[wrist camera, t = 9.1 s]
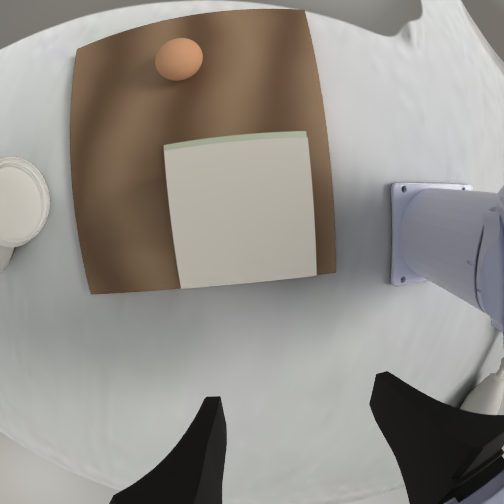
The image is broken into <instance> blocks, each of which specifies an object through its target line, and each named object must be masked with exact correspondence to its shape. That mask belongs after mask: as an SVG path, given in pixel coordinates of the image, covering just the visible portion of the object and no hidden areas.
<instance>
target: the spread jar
mask: <svg viewBox="0 0 504 504" xmlns="http://www.w3.org/2000/svg"><path fill="white" fill-rule="evenodd" d="M49 209H50V196H49V190H48V187H47V184H46V182H45V179H44V177H43V176H42V174H41V173H40V171H39V170H38V169H37V168H36V167H35V166H34V165H33V164H31V163H30V162H29V161H27V160H25V159H22V158H18V157H6V158H2V159H0V273H1V272H2V271H3V270H4V269H5V268H6V266H7V265H8V263H9V261H10V260H11V258H12V256H13V253H14V251H15V248H16V247H19V246H21V245H24V244H26V243H27V242H29V241H30V240H31V239H32V238H34V237H35V236H36V235H37V234H38V233H39V231H40V230H41V229H42V228H43V226H44V224H45V223H46V220H47V218H48V215H49Z"/></svg>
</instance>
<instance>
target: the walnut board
mask: <svg viewBox="0 0 504 504" xmlns="http://www.w3.org/2000/svg"><path fill="white" fill-rule="evenodd" d="M176 38H187V39H190V40H192V41H194V42H195V43H197V44H198V45H199V47H200V48H201V50H202V54H203V60H202V64H201V66H200V68H199V70H198V71H197V72H196V73H195V74H194V75H193V76H191V77H189V78H187V79H184V80H179V81H174V80H169V79H167V78H165V77H163V76H162V75H161V74H160V73H159V72H158V70H157V68H156V65H155V58H156V54H157V52H158V50H159V49H160V47H161V46H162V45H164V44H165V43H166V42H168V41H170V40H172V39H176ZM291 131H306V135H307V137H308V145H309V155H310V165H311V177H312V190H313V204H314V220H315V240H316V269H317V275H319V274H327V273H335V272H336V248H335V221H334V203H333V188H332V175H331V164H330V154H329V145H328V136H327V128H326V120H325V113H324V106H323V99H322V93H321V87H320V81H319V75H318V70H317V64H316V59H315V54H314V49H313V45H312V40H311V35H310V31H309V27H308V23H307V18H306V14H305V10H293V9H247V10H231V11H220V12H211V13H204V14H197V15H191V16H185V17H179V18H174V19H169V20H165V21H160V22H156V23H152V24H148V25H144V26H141V27H137V28H134V29H130V30H127V31H124V32H121V33H118V34H115V35H112V36H109V37H106V38H104V39H101V40H98V41H96V42H93V43H91V44H88V45H86V46H83V47H81V48H79V49H77V52H76V59H75V66H74V75H73V84H72V96H71V115H70V156H71V176H72V188H73V199H74V208H75V216H76V223H77V230H78V236H79V242H80V247H81V253H82V258H83V263H84V267H85V272H86V276H87V280H88V285H89V289H90V293H91V294H108V293H124V292H140V291H154V290H168V289H180V288H181V285H180V279H179V273H178V267H177V261H176V254H175V247H174V240H173V233H172V225H171V217H170V209H169V200H168V191H167V181H166V170H165V158H164V145H167V144H173V143H179V142H185V141H192V140H199V139H206V138H214V137H223V136H232V135H243V134H255V133H270V132H291Z"/></svg>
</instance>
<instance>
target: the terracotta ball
mask: <svg viewBox="0 0 504 504" xmlns="http://www.w3.org/2000/svg"><path fill="white" fill-rule="evenodd" d="M202 60H203V54H202V50H201V48H200V47H199V45H198V44H197V43H195V42H194V41H192V40H190V39H187V38H176V39H172V40H170V41H168V42H166V43H165V44H164V45H162V46H161V47H160V49H159V50H158V52H157V54H156V58H155V65H156V68H157V70H158V72H159V73H160V74H161V75H162V76H163V77H165V78H167V79H169V80H174V81H179V80H184V79H187V78H189V77H191V76H193V75H194V74H195V73H196V72H197V71H198V70H199V68H200V66H201V64H202Z"/></svg>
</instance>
